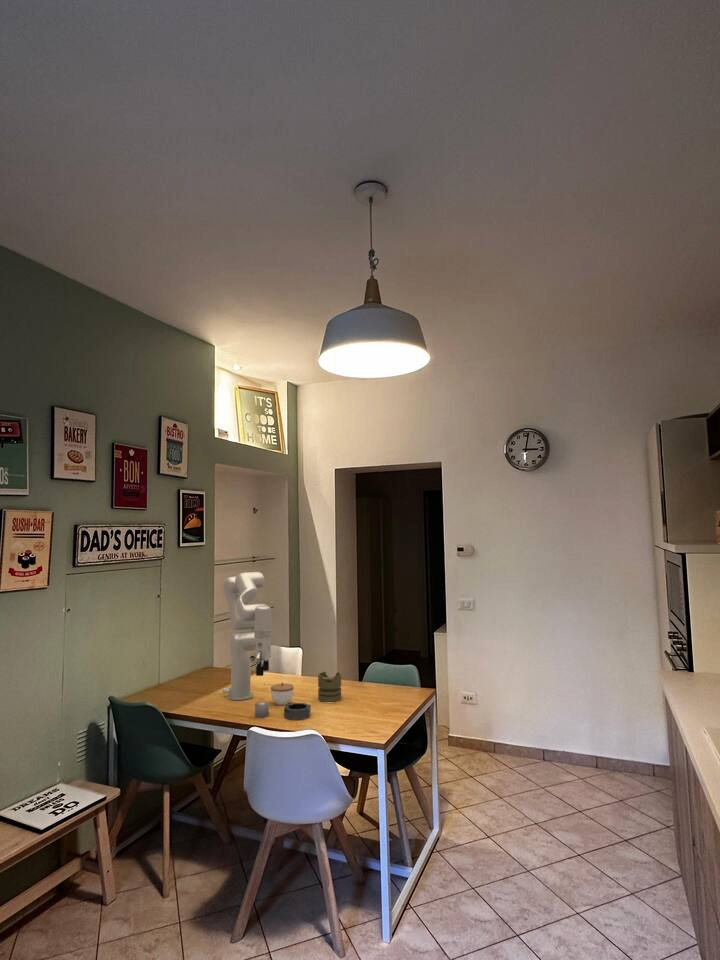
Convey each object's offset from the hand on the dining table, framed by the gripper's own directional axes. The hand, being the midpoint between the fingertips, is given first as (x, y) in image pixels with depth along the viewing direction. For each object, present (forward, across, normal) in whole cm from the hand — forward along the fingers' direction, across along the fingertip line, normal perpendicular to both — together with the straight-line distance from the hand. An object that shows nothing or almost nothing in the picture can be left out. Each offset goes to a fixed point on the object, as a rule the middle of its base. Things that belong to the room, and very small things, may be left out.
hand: (262, 673), depth 246 cm
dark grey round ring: (+18, 0, -16) cm, 24 cm away
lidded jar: (+18, +19, -5) cm, 27 cm away
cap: (+18, 0, 0) cm, 18 cm away
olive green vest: (+18, +26, -27) cm, 42 cm away
